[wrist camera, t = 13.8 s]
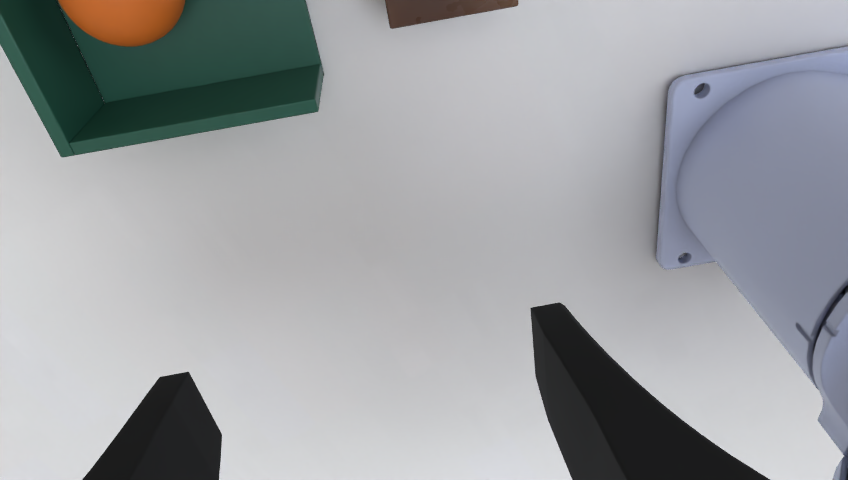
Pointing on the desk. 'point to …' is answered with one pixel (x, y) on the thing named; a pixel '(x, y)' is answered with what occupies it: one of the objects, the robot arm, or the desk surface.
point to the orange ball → (124, 19)
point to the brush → (438, 10)
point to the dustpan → (164, 72)
